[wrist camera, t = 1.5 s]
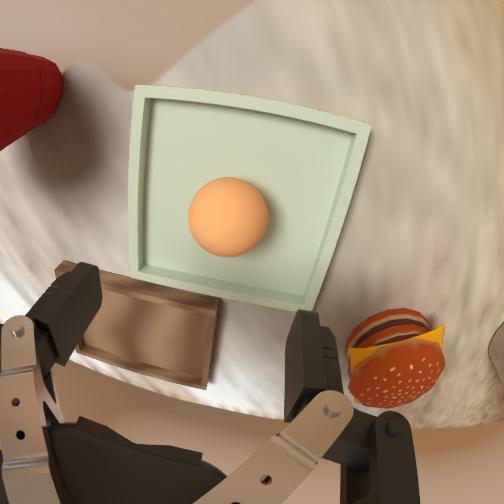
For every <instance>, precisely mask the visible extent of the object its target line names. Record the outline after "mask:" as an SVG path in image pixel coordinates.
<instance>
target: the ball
mask: <svg viewBox="0 0 504 504" xmlns="http://www.w3.org/2000/svg"><path fill="white" fill-rule="evenodd" d="M188 223H189V228H190V231H191V234H192V236H193V237H194V239H195V241H196V242H197V243H198V244H199V245H200V246H201V247H202V248H203V249H204V250H206V251H207V252H209V253H211V254H213V255H216V256H220V257H236V256H240V255H243V254H245V253H247V252H249V251H251V250H252V249H253V248H254V247H256V246H257V245H258V243H259V242H260V241H261V239H262V238H263V236H264V234H265V232H266V229H267V225H268V208H267V205H266V202H265V200H264V198H263V196H262V195H261V193H260V192H259V191H258V190H257V189H256V188H255V187H254V186H253V185H251V184H250V183H248V182H246V181H244V180H242V179H238V178H233V177H223V178H218V179H215V180H213V181H210V182H208V183H207V184H205V185H204V186H203V187H201V188H200V189H199V191H198V192H197V193H196V194H195V196H194V197H193V199H192V201H191V204H190V207H189V212H188Z"/></svg>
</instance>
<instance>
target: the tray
mask: <svg viewBox="0 0 504 504" xmlns="http://www.w3.org/2000/svg"><path fill="white" fill-rule="evenodd" d="M76 265H77V264H76V263H72V262H69V261H65V260H64V261H63V262H62V263H61V264H60V265H59V266H58V267H57V268H56V269H55V270H54V271H55V275H56V279H57V278H58V277H59V276H61V275H62V274H64V273H66V272H67V271H70V272H71V271H72V270H73V269H74V268H75V267H76ZM99 274H100V281H101V289H102V296H103V298H102V304H101V307H100V309H99V311H98V313H97V314H96V316H95V317H94V319H93V320H92V322H91V323H90V325H89V327H88V328H87V330H86V331H85V333H84V335H83V336H82V338H81V339H80V341H79V343H78V344H77V346H76V348H75V349H76V352H77V353H80V354H82V355H85V356H88V357H91V358H93V359H96V360H99V361H102V362H105V363H108V364H111V365H114V366H117V367H120V368H123V369H127V370H130V371H133V372H137V373H140V374H143V375H147V376H151V377H154V378H158V379H162V380H165V381H169V382H173V383H177V384H181V385H185V386H190V387H194V388H199V389H203V390H206V388H207V383H208V379H209V373H210V365H211V357H212V350H213V343H214V335H215V328H216V321H217V314H218V307H219V300H220V297H215V296H210V295H205V294H201V293H196V292H191V291H187V290H182V289H178V288H173V287H169V286H164V285H160V284H156V283H151V282H147V281H143V280H139V279H135V278H131V277H126V276H122V275H118V274H114V273H110V272H106V271H103V270H99Z"/></svg>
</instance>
